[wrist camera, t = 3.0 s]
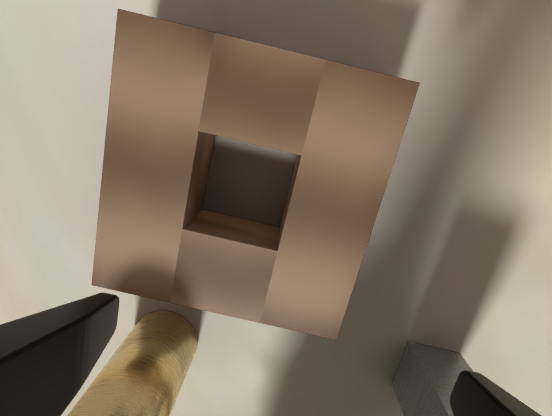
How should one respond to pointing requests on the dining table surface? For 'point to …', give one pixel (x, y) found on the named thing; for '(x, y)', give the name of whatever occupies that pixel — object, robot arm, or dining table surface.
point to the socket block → (251, 129)
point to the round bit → (143, 370)
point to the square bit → (427, 380)
